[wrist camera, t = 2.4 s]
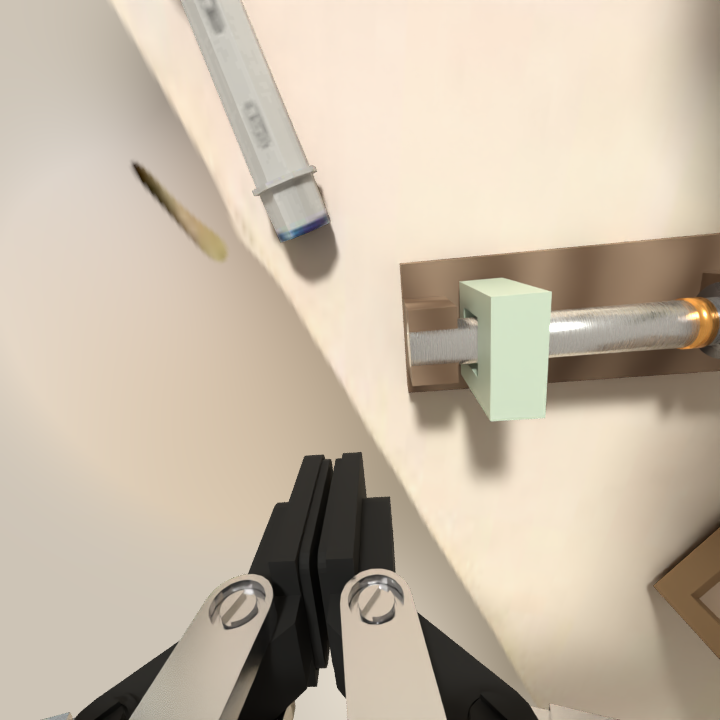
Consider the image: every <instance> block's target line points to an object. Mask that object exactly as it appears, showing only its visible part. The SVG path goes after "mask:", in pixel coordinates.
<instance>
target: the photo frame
mask: <svg viewBox="0 0 720 720" xmlns="http://www.w3.org/2000/svg"><path fill="white" fill-rule="evenodd" d="M654 587H655V589H656V590H657V591H658V592H659V593H660V594H661V595H662V596H663V597H664V598H665V600H666V601H667V602H668V603H669V604H670V605H671V606H672V607H673V608H674V609H675V611H676V612H677V613H678V614H679V615H680V616H681V617H682V618H683V619H684V620H685V622H686V623H687V624H688V625H689V626H690V627H691V628H692V629H693V630H694V632H695V633H696V634H697V635H698V636H699V637H700V638H701V639H702V640H703V641H704V643H705V644H706V645H707V646H708V647H709V648H710V649H711V650H712V651H713V652H714V654H715V655H716V656H717V657H718V658H719V659H720V527H719V528H718V529H717V530H716V531H715V532H714V533H713V534H711V535H710V536H709V537H708V538H707V539H706V540H705V541H704V542H702V543H701V544H700V545H699V546H698V547H697V548H696V549H694V550H693V551H692V552H691V553H690V554H689V555H688V556H686V557H685V558H684V559H683V560H682V561H681V562H680V563H679V564H677V565H676V566H675V567H674V568H673V569H672V570H671V571H669V572H668V573H667V574H666V575H665V576H664V577H663V578H662V579H660V580H659V581H658V582H657V583H656V584H655V585H654Z"/></svg>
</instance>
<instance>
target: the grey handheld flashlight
mask: <svg viewBox="0 0 720 720" xmlns="http://www.w3.org/2000/svg"><path fill="white" fill-rule="evenodd" d="M181 3H182V5H183V8H184V10H185V13H186V15H187V18H188V20H189V23H190V25H191V28H192V30H193V33H194V35H195V37H196V40H197V42H198V45H199V47H200V50H201V52H202V55H203V57H204V60H205V62H206V65H207V67H208V70H209V72H210V74H211V77H212V79H213V82H214V84H215V87H216V89H217V92H218V94H219V97H220V99H221V102H222V104H223V107H224V109H225V112H226V114H227V116H228V119H229V121H230V124H231V126H232V129H233V131H234V134H235V136H236V139H237V141H238V144H239V146H240V149H241V151H242V154H243V156H244V158H245V161H246V163H247V166H248V168H249V171H250V173H251V176H252V178H253V181H254V183H255V186H256V189H254V190H253V191H252V192H253V195H254V196H260V197H261V199H262V202H263V204H264V206H265V208H266V211H267V213H268V215H269V217H270V220H271V222H272V224H273V226H274V229H275V231H276V233H277V235H278V238H279V240H280V242H284V241H287V240H290V239H293V238H295V237H298V236H300V235H303V234H305V233H308V232H310V231H313V230H315V229H317V228H319V227H322V226H324V225H326V224H328V223H330V218H329V215H328V213H327V210H326V208H325V205H324V202H323V200H322V197H321V195H320V192H319V189H318V187H317V184H316V181H315V179H314V176H313V173H315V172H317V170H316V167H315V166H313V165H311V166H309V163H308V161H307V159H306V156H305V154H304V151H303V149H302V146H301V144H300V142H299V139H298V137H297V134H296V132H295V129H294V127H293V125H292V122H291V120H290V117H289V115H288V112H287V110H286V108H285V105H284V103H283V100H282V98H281V95H280V93H279V90H278V88H277V86H276V83H275V81H274V78H273V76H272V73H271V71H270V69H269V66H268V64H267V61H266V59H265V56H264V54H263V52H262V49H261V47H260V44H259V42H258V39H257V37H256V34H255V32H254V30H253V27H252V25H251V22H250V20H249V17H248V15H247V13H246V10H245V8H244V5H243V3H242V0H181Z"/></svg>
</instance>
